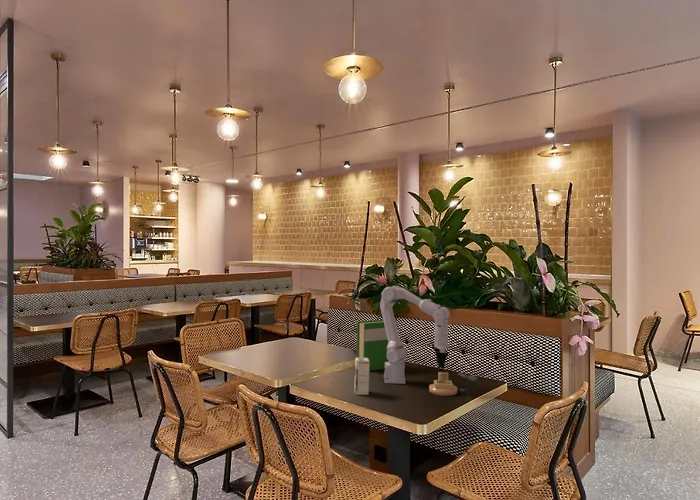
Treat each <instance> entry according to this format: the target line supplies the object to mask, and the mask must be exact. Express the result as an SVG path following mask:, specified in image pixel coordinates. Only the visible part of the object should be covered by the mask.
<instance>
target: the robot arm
mask: <svg viewBox="0 0 700 500" xmlns="http://www.w3.org/2000/svg"><path fill="white" fill-rule="evenodd" d="M380 295H381V297H380V298H381V300H380V304H379V308H380V311H381V315H382V320H383V321H384V325H385V330H386V334H387V338H388V346H387V359H388V361H389V362H385V369H384V374H383V379H384V383H385V384H399V385H400V384H401V385H403V384H405V385H406V378H405V368H406V367H405V365H406V364H405V359H406V358H407V356H408V353H407V352H408V351H407V349H406V348H405V346H404V343H403V342H402V341H401V340H400V336H399V331H398V326H397V321H396V318H395V315H394V310H393V309H394V308H393V306H394V305H395V304H396V302H397V301H399V300H406V301H408V302H410V303H411V304H414V305H416V306H417V307H419V310H420V311H422V312H424V313H425V314H427V315H429V316H430V317H433V320H434V344H433V350H434V353H435V357H436V363H437V365H438V368H439V369H444V368H445V366H446V365H445V364H446V360H447V358H448V356H449V352H447V348H451V345H450V344H448V343H449V342H448V340H449V337H448V336H449V319H450V315H451V313H450V310H449V309H448V308H447V307H446V306H442V305H440V304H437V303H435V302H433V301H432V299H430V298H428V299H427V298H425V299H421V298H420V297H419V296H417V295H415V294H414V293H412V292H410V291H409V290H407V289H406V288H403V287H401V286H400V285H394V286H386V287H385V288H384V289H383V290H382V292H381V293H380Z"/></svg>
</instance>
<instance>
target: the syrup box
mask: <svg viewBox="0 0 700 500" xmlns="http://www.w3.org/2000/svg"><path fill="white" fill-rule="evenodd" d="M354 359H355V360H354V362H355V363H354V383H353V384H354V388H353V389H354V390H353V391H354V395H355V396H360V395H361V396H364V395H365V396H366V395H367V396H368V395H369V391H370V388H369V387H370V371H369V359H368V358H357V357H355V358H354Z"/></svg>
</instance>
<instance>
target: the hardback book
mask: <svg viewBox="0 0 700 500" xmlns="http://www.w3.org/2000/svg"><path fill="white" fill-rule="evenodd" d="M387 346H388V338H387V334H386V330H385V325H384V321H383V319H376V320H375V319H372V320H361V321H356V358H368V359H369V372H370V371H371V370H372V371H378V369H379V370H385V369H384V368H385V362H389V361H388V359H387ZM372 371H371V372H372Z"/></svg>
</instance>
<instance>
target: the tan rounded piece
mask: <svg viewBox="0 0 700 500" xmlns="http://www.w3.org/2000/svg"><path fill="white" fill-rule="evenodd" d="M428 391H429V393H431V394H433V395H435V396H443V397H444V396H445V397H450V396H455V395H457V394H458V386H456V385H454V384H453V382H452V380H448V384H442V383H438V379H433V383H431V384H429V386H428Z"/></svg>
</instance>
